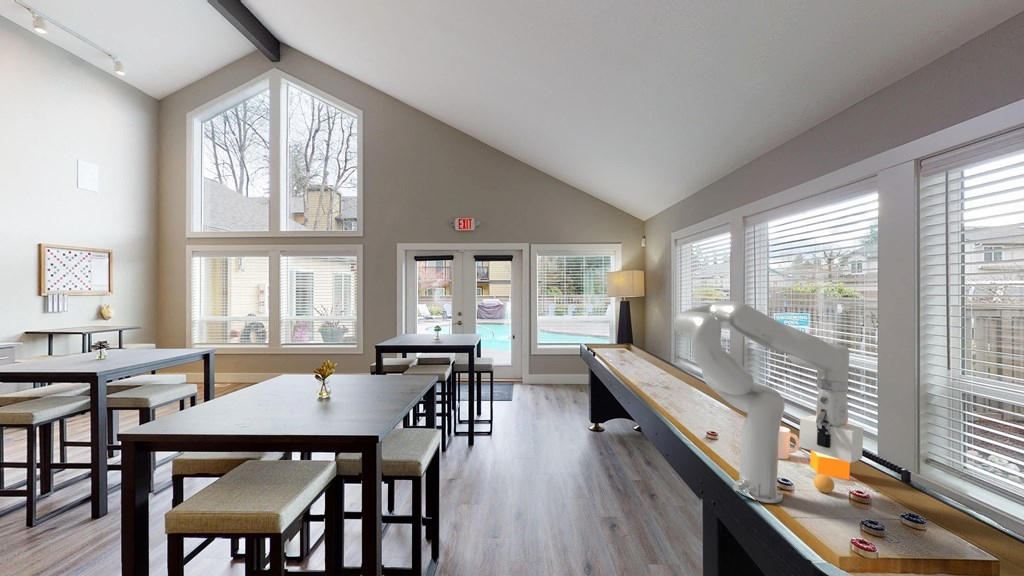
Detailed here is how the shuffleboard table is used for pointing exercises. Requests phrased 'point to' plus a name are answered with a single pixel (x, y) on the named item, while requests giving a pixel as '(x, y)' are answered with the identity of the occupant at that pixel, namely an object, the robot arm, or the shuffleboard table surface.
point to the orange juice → (830, 465)
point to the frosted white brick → (833, 440)
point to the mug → (786, 443)
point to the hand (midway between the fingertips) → (829, 444)
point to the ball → (824, 483)
